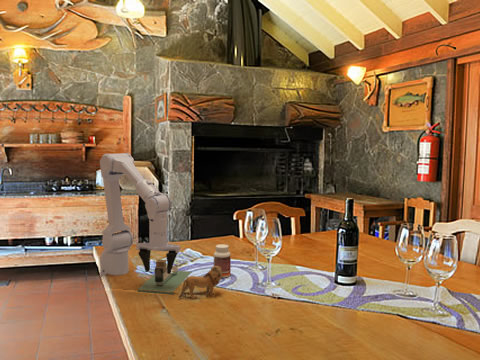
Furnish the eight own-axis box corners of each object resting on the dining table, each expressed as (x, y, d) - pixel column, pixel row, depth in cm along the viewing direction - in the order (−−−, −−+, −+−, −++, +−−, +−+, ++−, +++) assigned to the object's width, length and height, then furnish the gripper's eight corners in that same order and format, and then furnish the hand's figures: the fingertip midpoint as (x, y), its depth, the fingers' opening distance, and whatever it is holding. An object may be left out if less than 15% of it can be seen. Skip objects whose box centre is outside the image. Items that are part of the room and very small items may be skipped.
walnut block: (155, 272, 159) (155, 261, 159) (158, 269, 162) (157, 259, 162) (164, 272, 159) (164, 262, 159) (166, 270, 162) (166, 259, 162)
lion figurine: (218, 289, 145) (218, 263, 144) (225, 295, 141) (225, 267, 140) (175, 296, 139) (175, 269, 138) (181, 302, 134) (181, 273, 133)
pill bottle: (233, 276, 159) (234, 246, 158) (219, 279, 156) (219, 249, 154) (224, 271, 164) (225, 243, 163) (210, 274, 161) (210, 245, 160)
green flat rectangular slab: (137, 292, 142) (137, 288, 142) (161, 272, 163) (161, 269, 163) (173, 294, 140) (173, 291, 140) (192, 274, 161) (192, 271, 161)
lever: (151, 286, 145) (151, 268, 144) (169, 269, 162) (169, 254, 162) (163, 286, 144) (163, 269, 143) (180, 270, 162) (180, 254, 161)
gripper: (132, 233, 141) (132, 274, 143) (175, 235, 139) (175, 277, 140) (141, 228, 148) (141, 267, 150) (182, 230, 146) (182, 270, 147)
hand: (158, 272), depth 145 cm, fingers open, 7 cm apart
